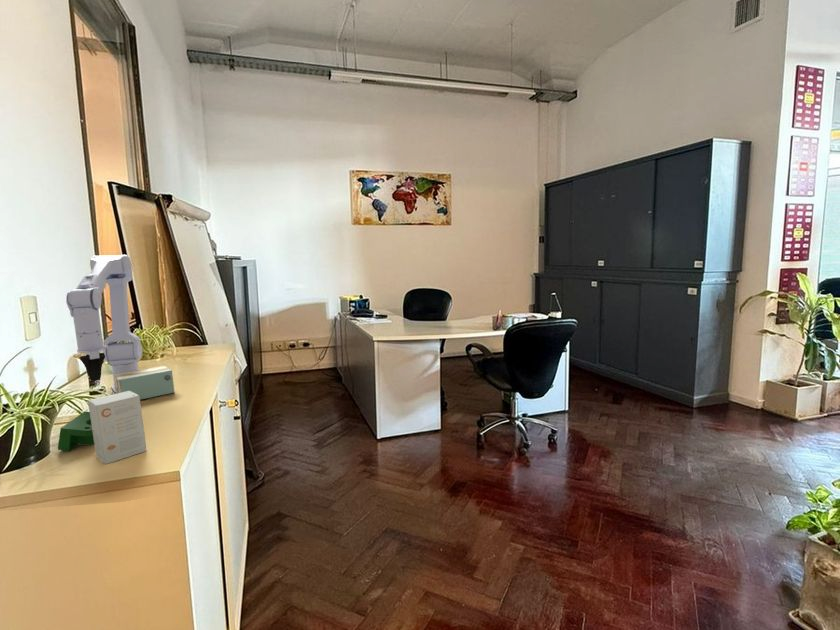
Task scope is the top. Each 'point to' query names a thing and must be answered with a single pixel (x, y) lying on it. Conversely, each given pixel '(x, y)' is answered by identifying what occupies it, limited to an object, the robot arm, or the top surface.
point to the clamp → (76, 432)
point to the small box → (117, 426)
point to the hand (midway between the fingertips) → (95, 380)
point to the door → (149, 384)
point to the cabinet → (135, 373)
